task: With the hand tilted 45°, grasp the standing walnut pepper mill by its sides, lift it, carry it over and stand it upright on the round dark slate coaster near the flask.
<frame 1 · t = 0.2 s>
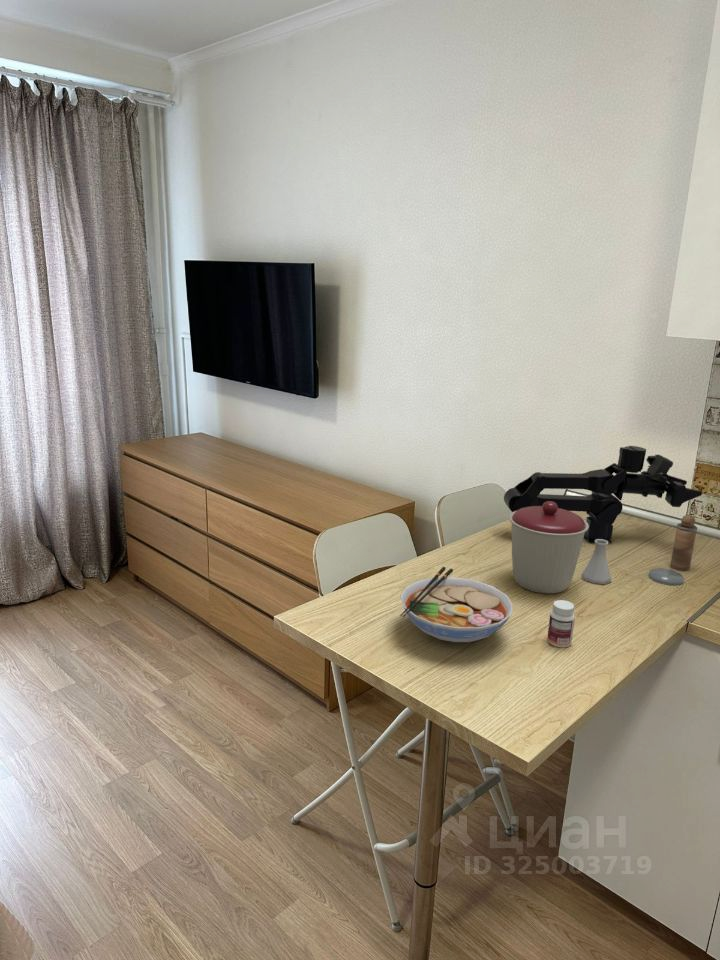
hand: (693, 487, 187), 16 cm above the table, tool horizontal, fingers open, 9 cm apart
pill bottle: (558, 642, 135), on the table
flask: (596, 579, 165), on the table
pepper mill: (679, 567, 173), on the table
slate coaster: (665, 578, 167), on the table
canister: (540, 585, 161), on the table
ramen bowl: (453, 633, 137), on the table
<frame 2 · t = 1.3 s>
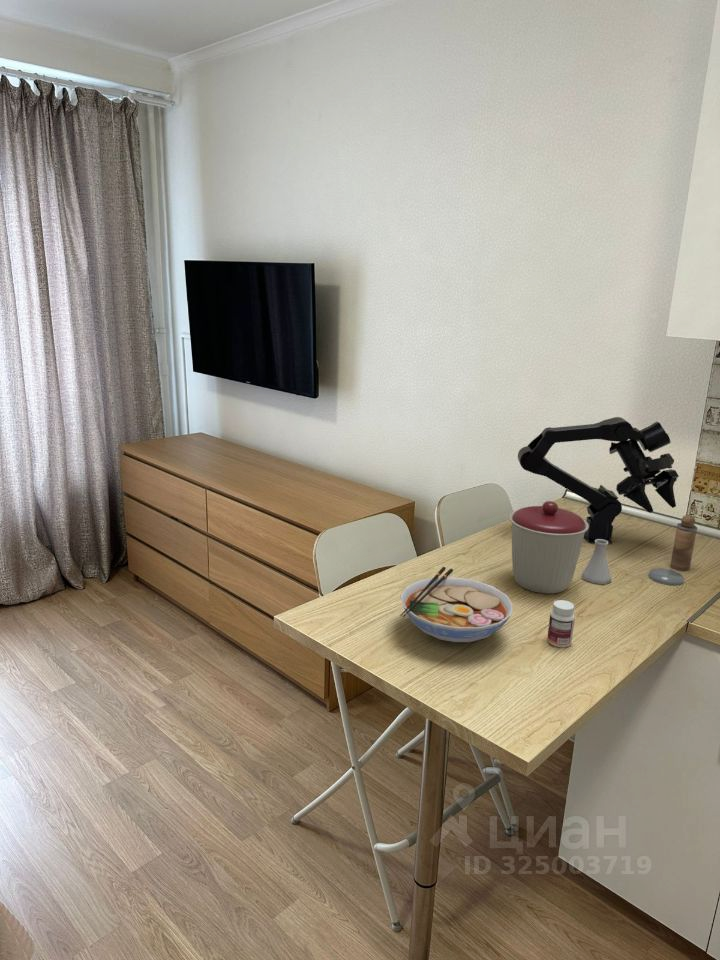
hand: (663, 509, 176), 14 cm above the table, tool tilted 45°, fingers open, 9 cm apart
nothing on the table moved.
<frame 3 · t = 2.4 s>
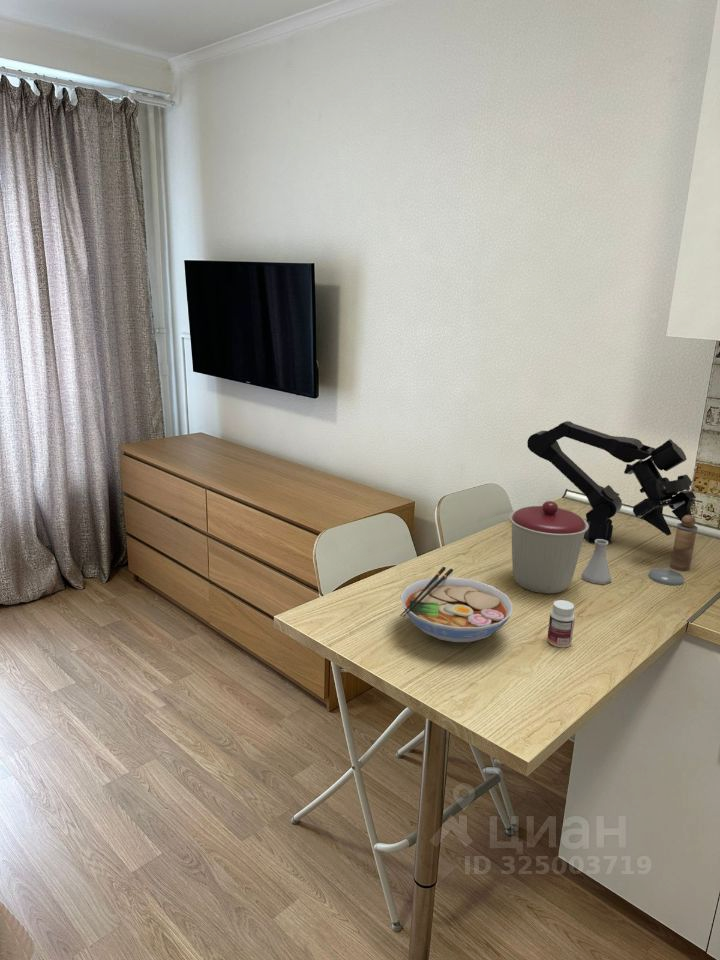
hand: (681, 532, 172), 9 cm above the table, tool tilted 45°, fingers open, 9 cm apart
nothing on the table moved.
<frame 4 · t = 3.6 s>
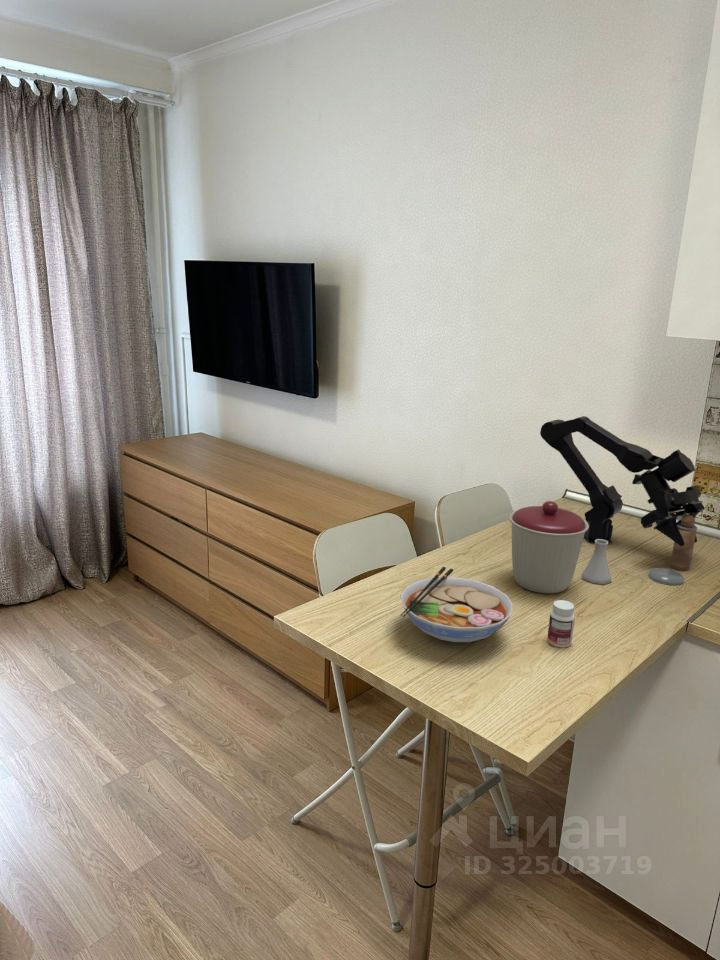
hand: (689, 544, 170), 7 cm above the table, tool tilted 45°, fingers closed on pepper mill, 5 cm apart
pepper mill: (679, 567, 173), on the table, touching gripper
everything else where it was.
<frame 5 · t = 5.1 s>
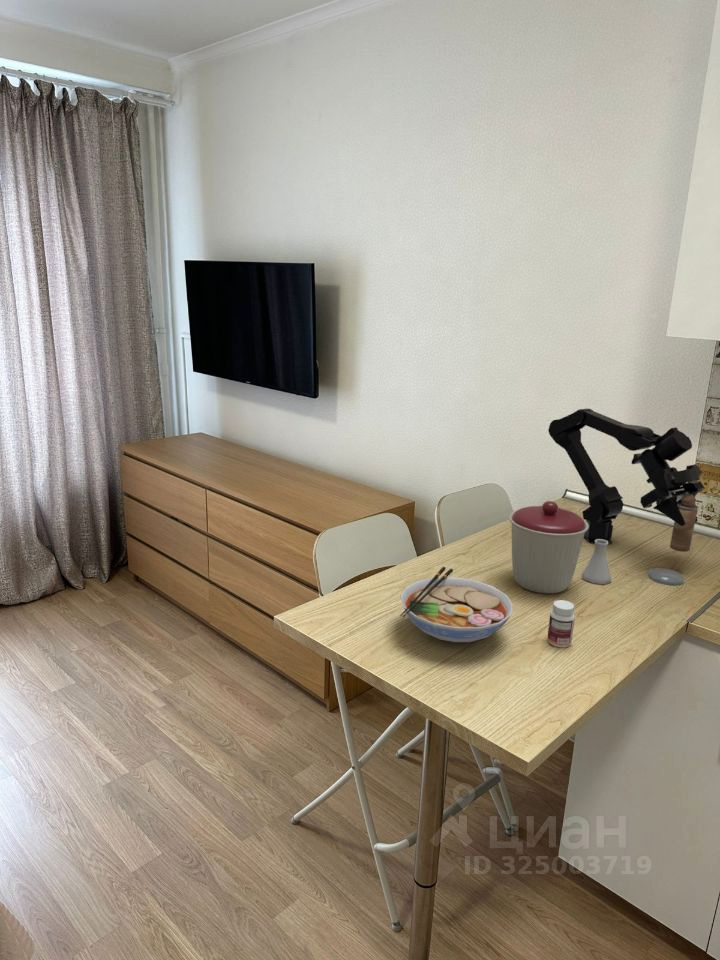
hand: (689, 523, 166), 13 cm above the table, tool tilted 45°, fingers closed on pepper mill, 5 cm apart
pepper mill: (679, 548, 169), point 6 cm above the table, touching gripper
everything else where it was.
when the fingers open (9 cm above the table, at t = 6.7 s): pepper mill stays where it is, resting on slate coaster.
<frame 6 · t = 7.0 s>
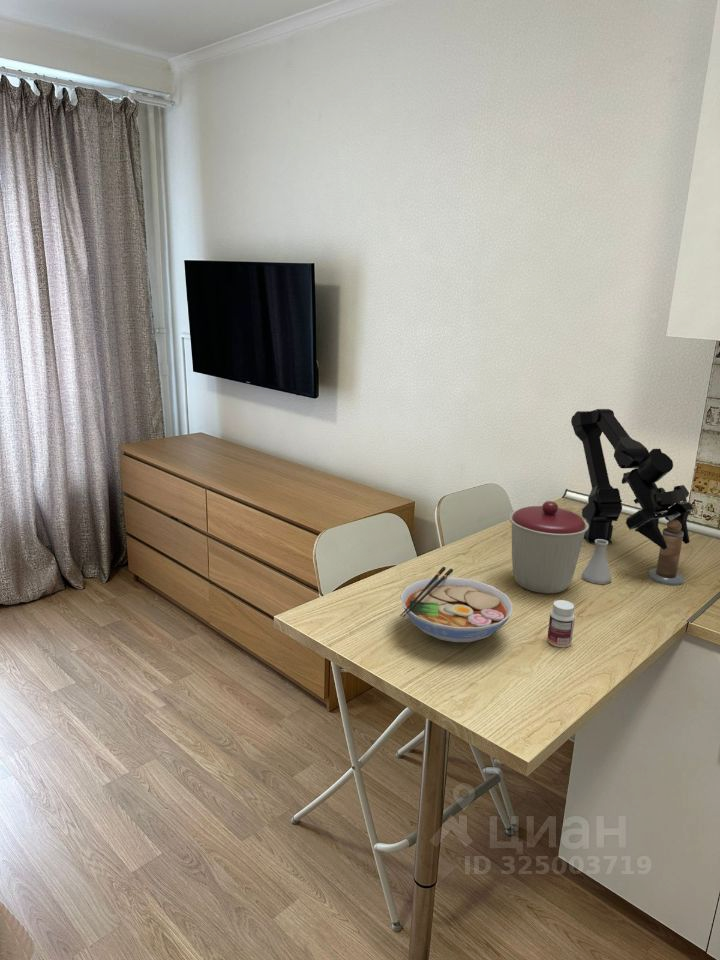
hand: (676, 545, 163), 9 cm above the table, tool tilted 45°, fingers open, 8 cm apart
pepper mill: (665, 574, 166), point 1 cm above the table, touching slate coaster
everything else where it was.
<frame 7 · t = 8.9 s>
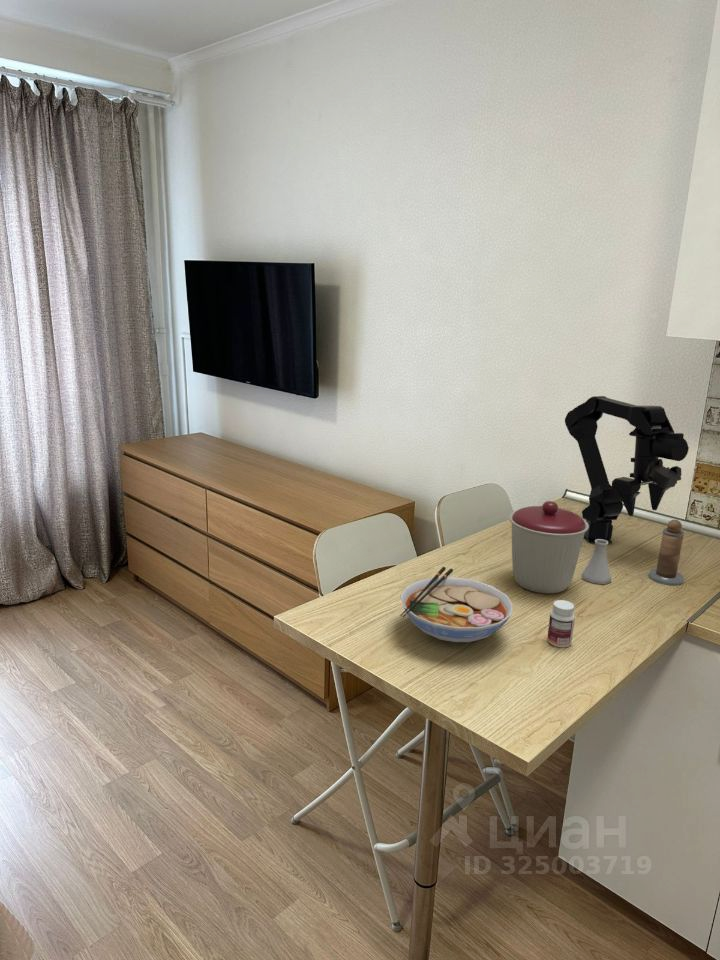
hand: (642, 512, 176), 13 cm above the table, tool pointing down, fingers open, 9 cm apart
nothing on the table moved.
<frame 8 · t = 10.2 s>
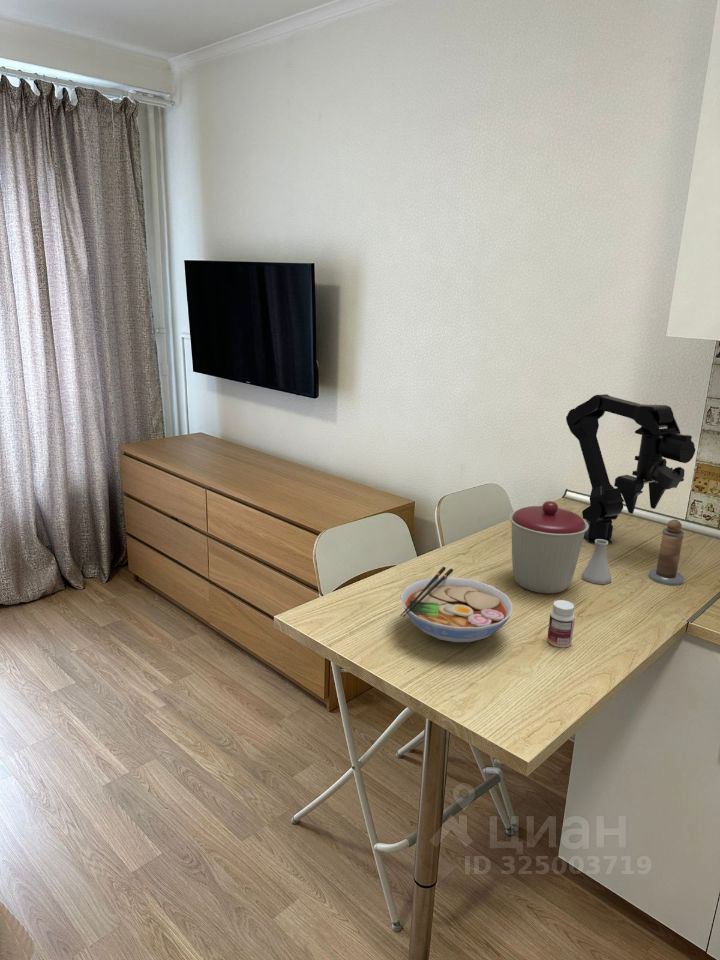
hand: (641, 510, 176), 13 cm above the table, tool pointing down, fingers open, 9 cm apart
nothing on the table moved.
at the end: pepper mill inside the target area on the slate coaster (0.2 cm from its centre), point 1.0 cm above the slate coaster's base; pepper mill tilted 0°; the gripper is holding nothing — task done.
